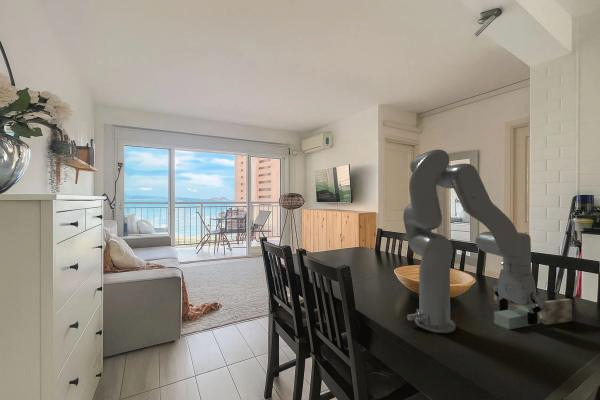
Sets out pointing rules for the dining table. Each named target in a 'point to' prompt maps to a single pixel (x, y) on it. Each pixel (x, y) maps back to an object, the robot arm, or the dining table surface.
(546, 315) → the shelf frame
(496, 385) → the dining table surface
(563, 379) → the dining table surface
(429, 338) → the dining table surface
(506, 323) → the grey-green rectangular block
